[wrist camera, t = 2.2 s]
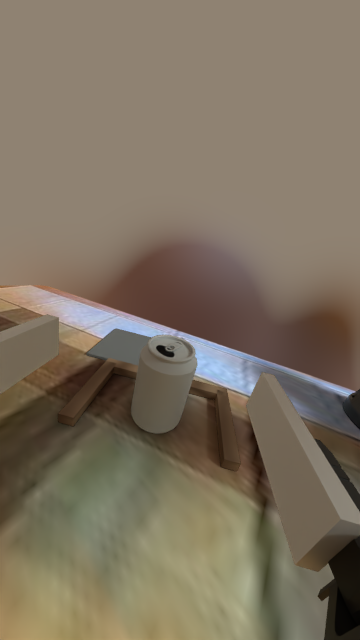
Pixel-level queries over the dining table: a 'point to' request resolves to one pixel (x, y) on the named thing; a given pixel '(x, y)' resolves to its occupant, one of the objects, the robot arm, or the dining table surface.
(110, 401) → the dining table surface
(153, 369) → the can
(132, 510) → the dining table surface
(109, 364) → the brown u-shaped frame
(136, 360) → the charcoal mat
